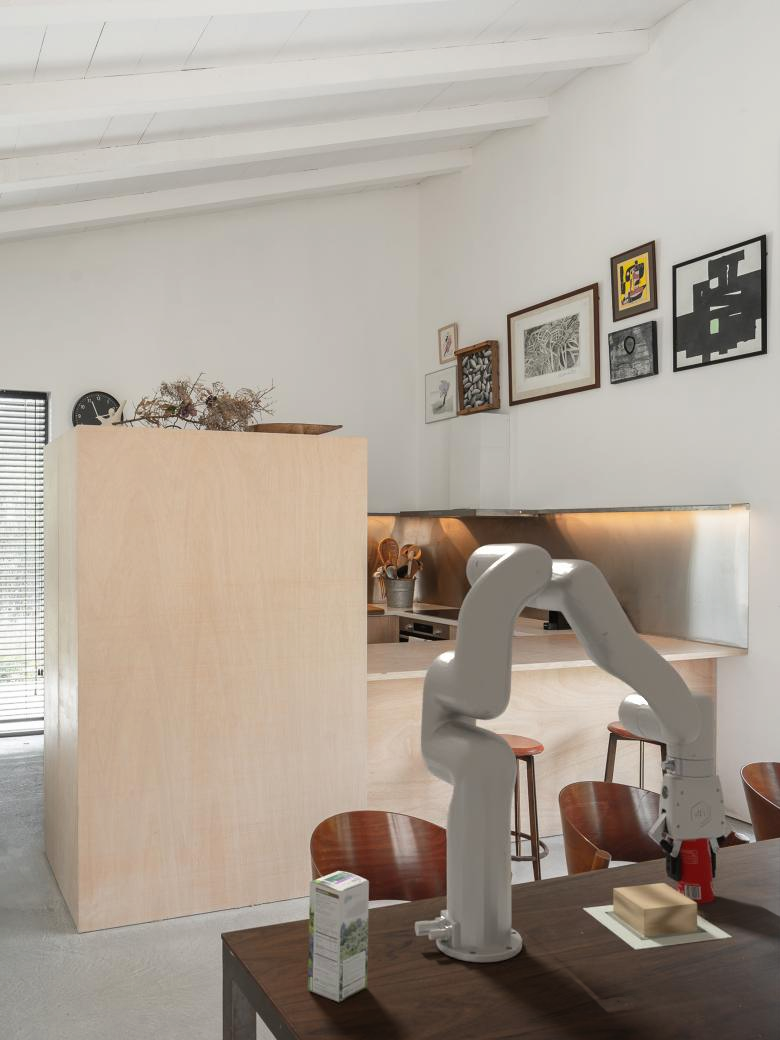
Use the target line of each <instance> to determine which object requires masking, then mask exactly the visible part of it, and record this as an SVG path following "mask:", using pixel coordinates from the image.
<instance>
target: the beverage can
mask: <svg viewBox="0 0 780 1040" xmlns="http://www.w3.org/2000/svg"><path fill="white" fill-rule="evenodd" d="M678 856H679V857H681V881H679V882H677V881H675V882H676V891H678V892H680V893H681V894H683V895H684V896H686V897H688V898H689V899H691V900H693V901H694V902H696V903H697V904H698V903H699V904H702V903H703V904H706V903H711V902H714V900H715V894H714V883H713V882H714V881H713V879H714V878H712V864H711V851H710V839H706V838H700V839H695V840H687V841H682V843H681V846H680V849H679V853H678Z"/></svg>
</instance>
